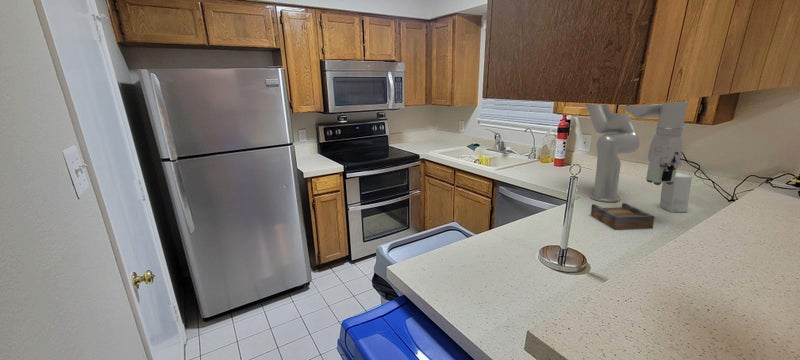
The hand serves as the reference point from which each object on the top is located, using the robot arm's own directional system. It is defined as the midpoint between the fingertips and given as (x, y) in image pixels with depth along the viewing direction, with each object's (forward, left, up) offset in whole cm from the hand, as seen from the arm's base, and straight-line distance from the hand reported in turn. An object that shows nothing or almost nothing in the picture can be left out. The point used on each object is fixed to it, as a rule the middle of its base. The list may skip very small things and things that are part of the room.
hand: (660, 178), depth 125 cm
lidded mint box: (0, 0, -2) cm, 2 cm away
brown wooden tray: (+1, -14, -17) cm, 22 cm away
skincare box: (-10, +16, -17) cm, 26 cm away
